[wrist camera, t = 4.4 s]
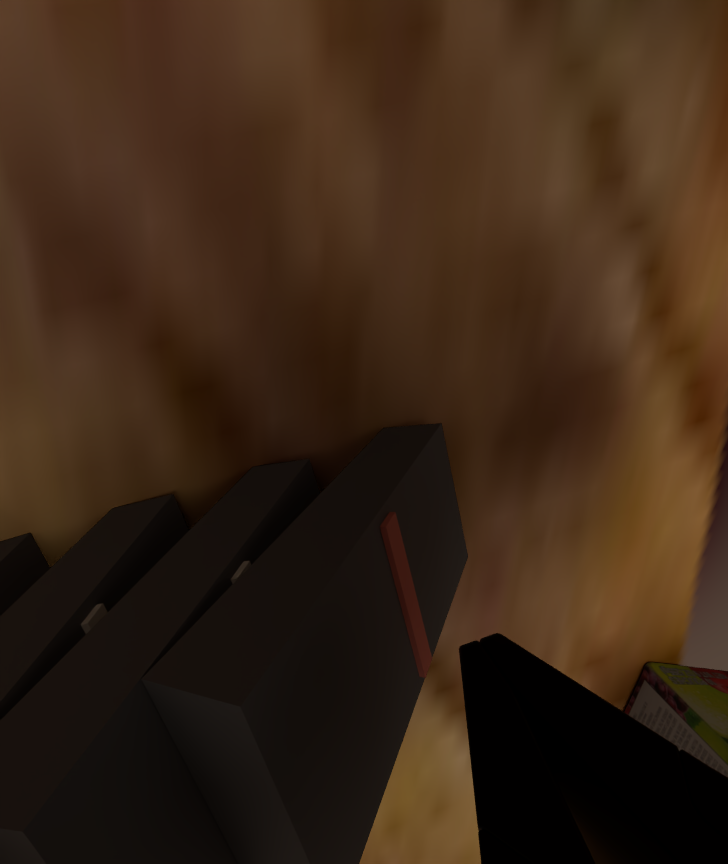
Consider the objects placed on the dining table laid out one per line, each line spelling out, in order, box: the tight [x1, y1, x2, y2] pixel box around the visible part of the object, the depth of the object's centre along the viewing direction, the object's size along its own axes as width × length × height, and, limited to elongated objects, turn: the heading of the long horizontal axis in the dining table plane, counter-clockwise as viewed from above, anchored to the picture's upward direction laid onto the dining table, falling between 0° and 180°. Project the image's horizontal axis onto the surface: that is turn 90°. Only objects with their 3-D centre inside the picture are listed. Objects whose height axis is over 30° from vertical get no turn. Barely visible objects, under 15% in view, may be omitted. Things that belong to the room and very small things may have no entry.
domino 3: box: [141, 423, 468, 864], centre depth 11 cm, size 2×5×10 cm
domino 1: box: [0, 494, 189, 720], centre depth 10 cm, size 2×5×10 cm, turn 14°
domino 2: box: [0, 459, 320, 864], centre depth 11 cm, size 2×5×10 cm, turn 14°
